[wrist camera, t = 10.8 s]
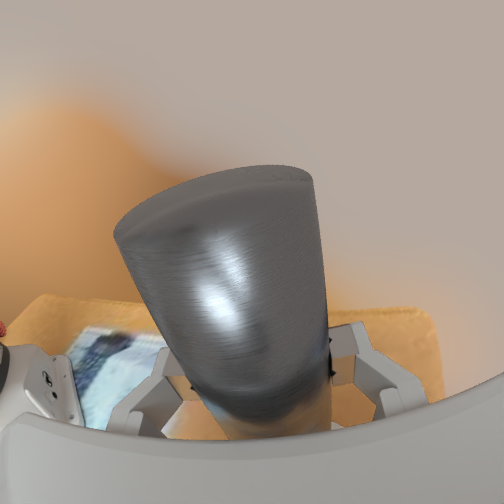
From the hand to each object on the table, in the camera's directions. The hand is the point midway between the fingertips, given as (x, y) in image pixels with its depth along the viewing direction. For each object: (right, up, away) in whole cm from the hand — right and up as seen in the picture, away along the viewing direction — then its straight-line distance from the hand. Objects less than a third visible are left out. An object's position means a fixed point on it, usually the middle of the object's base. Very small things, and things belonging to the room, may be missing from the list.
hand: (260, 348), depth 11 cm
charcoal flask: (+2, -8, +3) cm, 8 cm away
